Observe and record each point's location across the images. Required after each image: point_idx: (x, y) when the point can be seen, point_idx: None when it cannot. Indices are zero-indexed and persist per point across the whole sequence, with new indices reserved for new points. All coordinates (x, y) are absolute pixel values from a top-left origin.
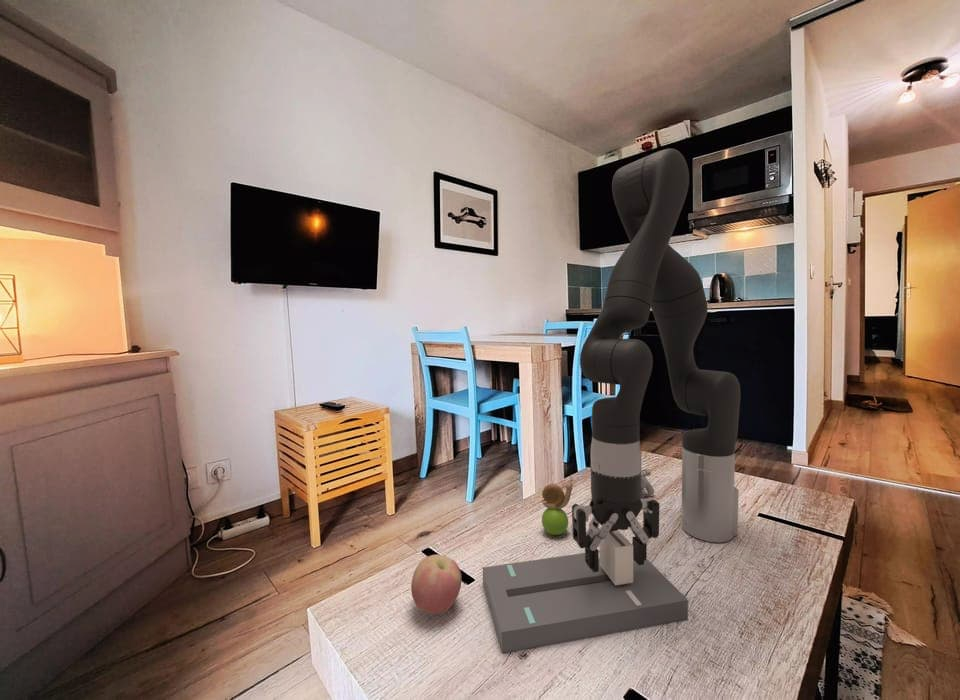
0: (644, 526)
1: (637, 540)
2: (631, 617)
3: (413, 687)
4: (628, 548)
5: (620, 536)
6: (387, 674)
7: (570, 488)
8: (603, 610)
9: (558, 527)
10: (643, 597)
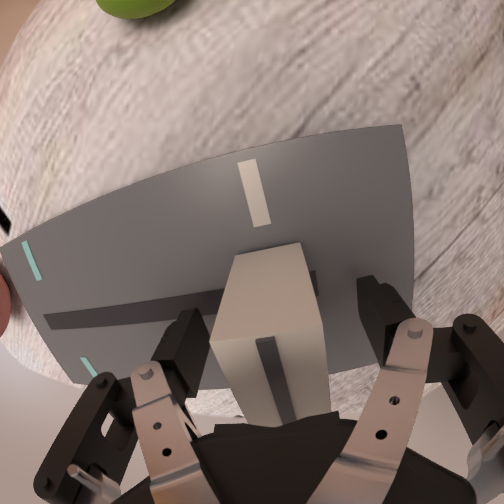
0: (455, 354)
1: (388, 348)
2: None
3: (42, 372)
4: None
5: (309, 385)
6: (21, 356)
7: None
8: (215, 382)
9: (140, 11)
10: None
